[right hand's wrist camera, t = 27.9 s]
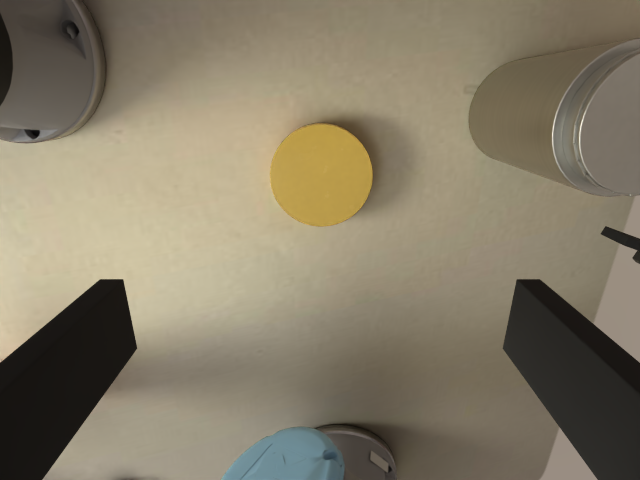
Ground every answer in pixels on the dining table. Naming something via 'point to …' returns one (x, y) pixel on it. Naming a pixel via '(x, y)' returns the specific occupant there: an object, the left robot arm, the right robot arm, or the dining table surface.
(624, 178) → the jar
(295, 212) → the lid
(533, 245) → the dining table surface
